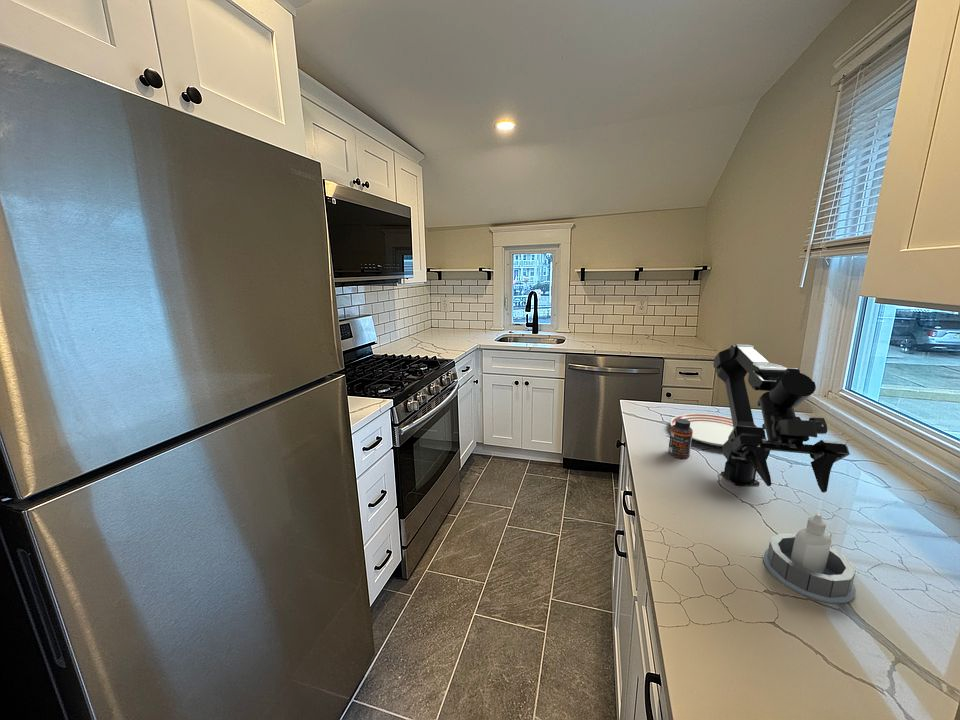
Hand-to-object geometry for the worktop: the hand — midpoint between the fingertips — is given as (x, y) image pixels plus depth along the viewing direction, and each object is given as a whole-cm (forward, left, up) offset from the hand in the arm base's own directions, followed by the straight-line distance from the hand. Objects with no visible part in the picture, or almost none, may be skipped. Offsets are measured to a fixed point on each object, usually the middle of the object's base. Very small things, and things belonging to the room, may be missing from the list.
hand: (796, 488), depth 74 cm
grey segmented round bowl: (+3, +7, -13) cm, 15 cm away
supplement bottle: (-1, -39, -13) cm, 41 cm away
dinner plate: (-21, -51, -13) cm, 57 cm away
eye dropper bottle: (+3, +7, -13) cm, 15 cm away
